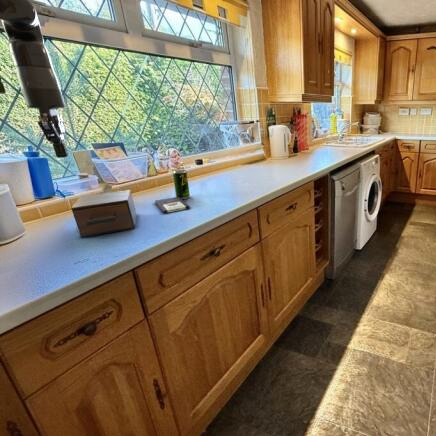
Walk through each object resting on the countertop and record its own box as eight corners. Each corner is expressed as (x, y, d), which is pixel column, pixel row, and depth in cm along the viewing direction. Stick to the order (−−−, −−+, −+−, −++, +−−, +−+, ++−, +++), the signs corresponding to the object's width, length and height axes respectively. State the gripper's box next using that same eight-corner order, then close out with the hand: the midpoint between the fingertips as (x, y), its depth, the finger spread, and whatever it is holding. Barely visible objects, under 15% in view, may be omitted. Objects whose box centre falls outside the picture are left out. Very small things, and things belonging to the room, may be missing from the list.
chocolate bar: (178, 196, 129) (189, 205, 115) (178, 198, 129) (189, 208, 116) (155, 200, 124) (163, 211, 110) (155, 202, 124) (163, 213, 111)
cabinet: (135, 228, 97) (127, 199, 94) (81, 238, 91) (71, 207, 88) (136, 215, 110) (130, 189, 107) (89, 222, 104) (81, 196, 101)
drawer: (131, 231, 92) (124, 207, 89) (79, 241, 86) (70, 216, 84) (134, 214, 108) (128, 193, 105) (90, 222, 102) (82, 199, 99)
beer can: (173, 198, 128) (169, 170, 125) (181, 195, 134) (178, 168, 130) (184, 199, 127) (180, 171, 124) (192, 196, 132) (189, 169, 129)
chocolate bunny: (98, 208, 120) (90, 183, 117) (118, 202, 127) (111, 179, 123) (106, 209, 118) (99, 185, 114) (126, 204, 124) (120, 180, 121)
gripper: (52, 85, 72) (74, 158, 78) (66, 90, 83) (84, 153, 89) (10, 85, 69) (36, 161, 75) (30, 89, 80) (52, 155, 86)
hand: (62, 157), depth 82 cm, fingers closed
